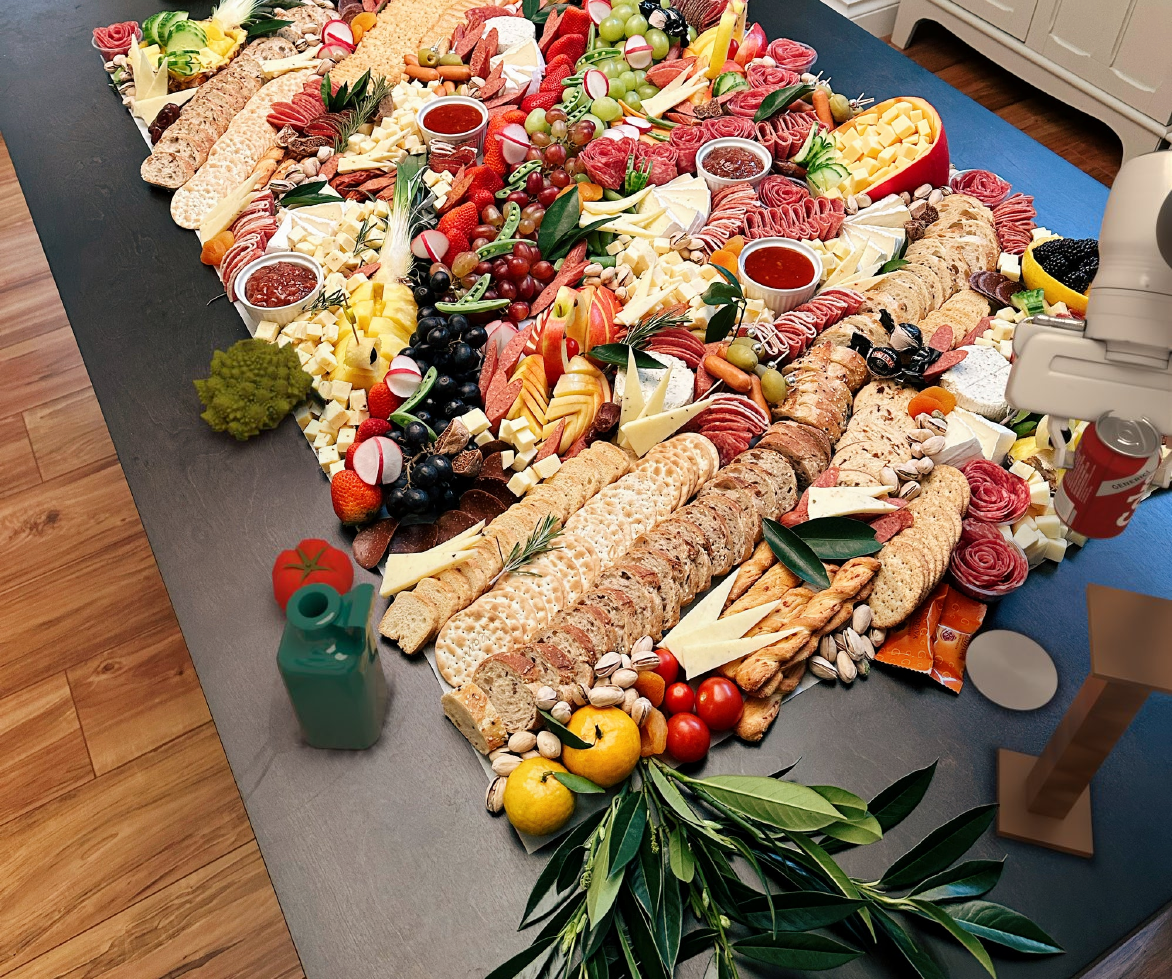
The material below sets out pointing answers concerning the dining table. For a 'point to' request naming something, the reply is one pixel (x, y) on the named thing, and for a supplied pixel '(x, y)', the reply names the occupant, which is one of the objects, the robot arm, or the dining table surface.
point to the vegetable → (255, 387)
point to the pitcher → (333, 666)
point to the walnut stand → (1088, 722)
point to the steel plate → (1011, 670)
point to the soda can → (1108, 476)
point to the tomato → (311, 569)
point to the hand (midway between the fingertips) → (1110, 477)
